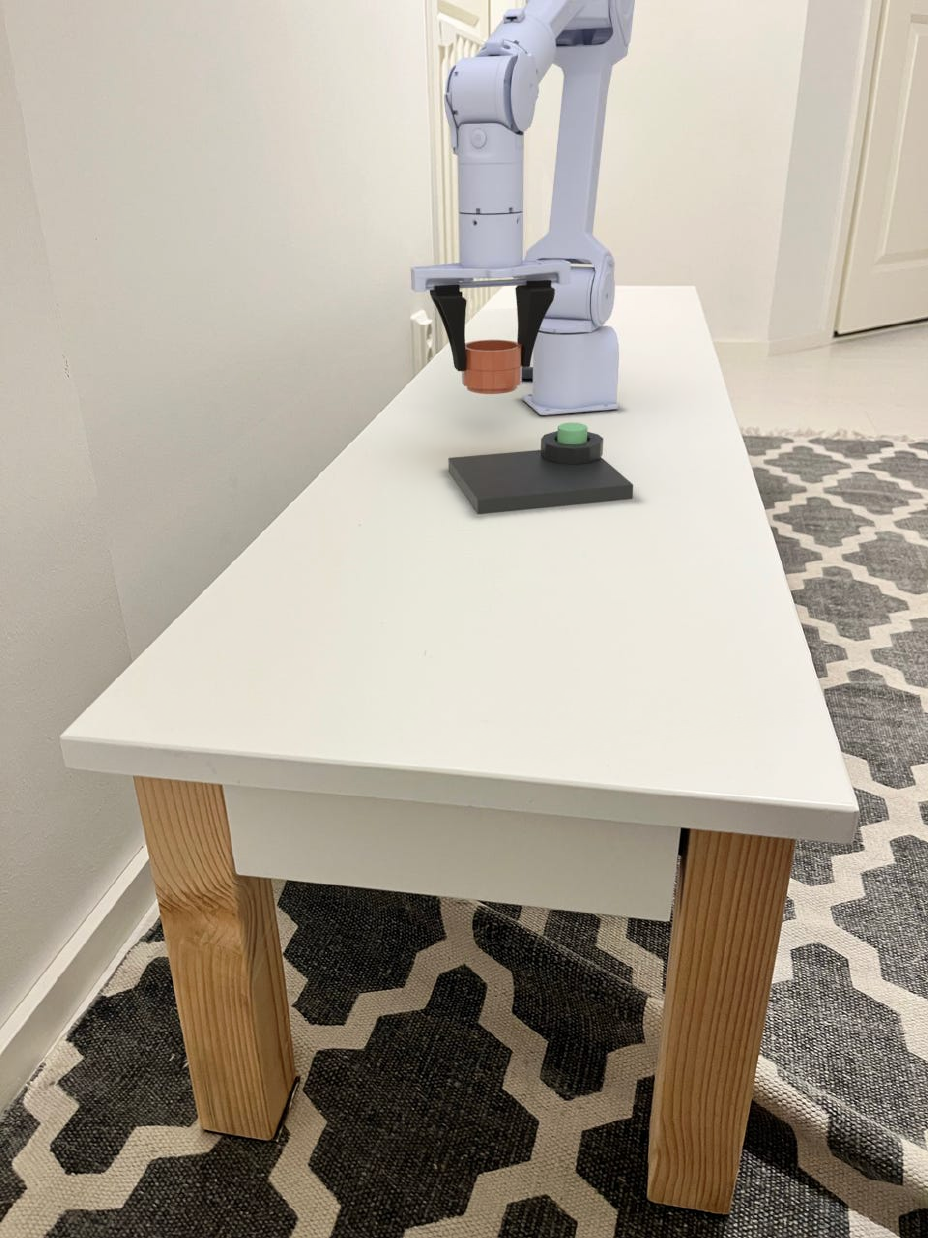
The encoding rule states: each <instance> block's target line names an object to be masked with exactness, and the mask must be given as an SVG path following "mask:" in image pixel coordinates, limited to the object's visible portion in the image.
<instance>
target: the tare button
mask: <svg viewBox="0 0 928 1238" xmlns="http://www.w3.org/2000/svg"><path fill="white" fill-rule="evenodd" d="M557 431H558V433H557V442H559V443H563V444H583V443H586V442H587V432H588V425H586V424H585V423H581V422H564V423H560V424H558V425H557Z"/></svg>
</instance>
